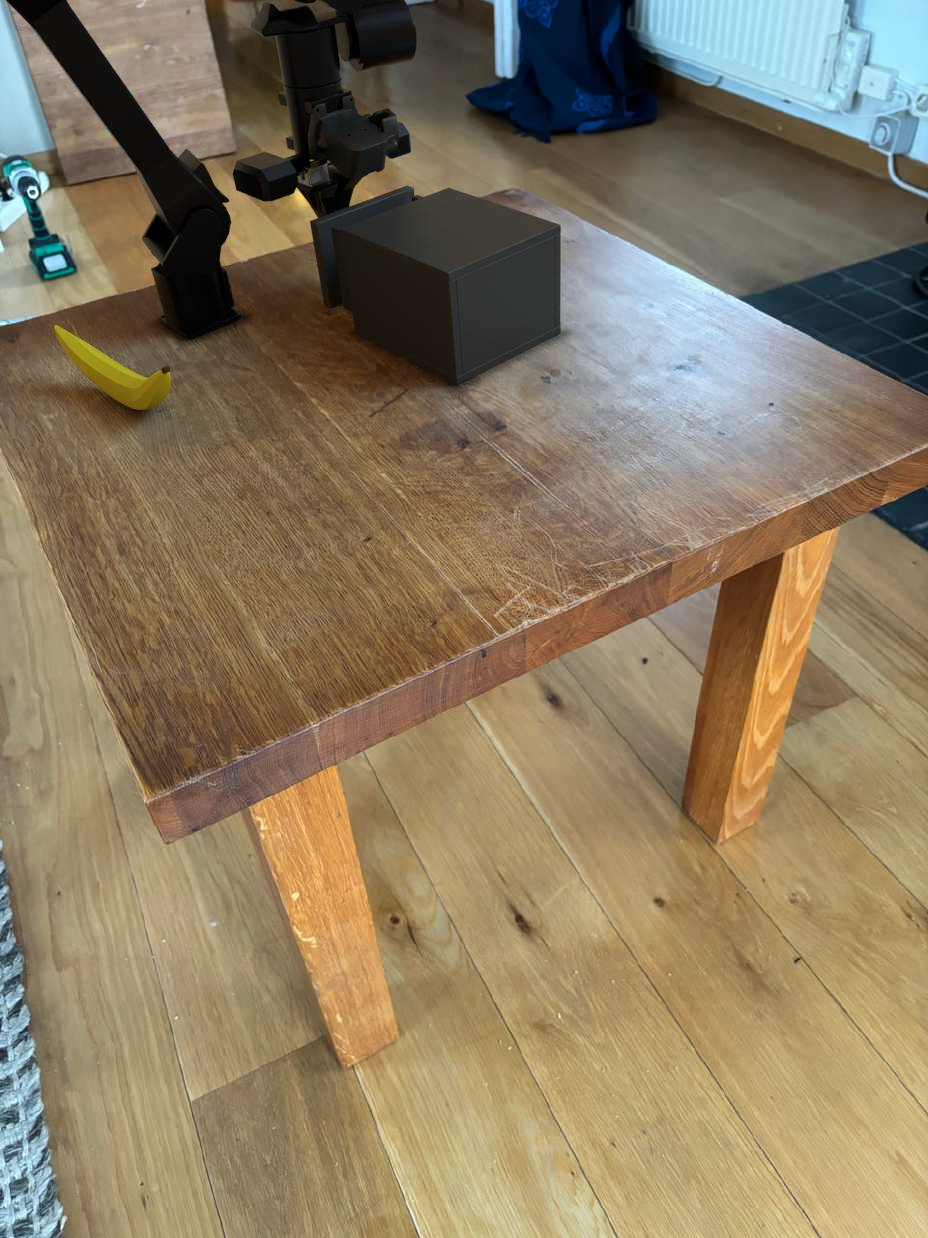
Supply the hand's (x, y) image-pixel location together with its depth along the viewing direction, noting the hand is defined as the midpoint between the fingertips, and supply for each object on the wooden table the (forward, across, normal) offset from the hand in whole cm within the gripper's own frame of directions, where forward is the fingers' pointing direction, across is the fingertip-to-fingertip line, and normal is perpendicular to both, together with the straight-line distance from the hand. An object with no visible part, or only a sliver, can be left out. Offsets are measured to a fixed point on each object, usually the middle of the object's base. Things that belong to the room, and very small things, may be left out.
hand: (337, 240), depth 104 cm
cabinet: (+4, 0, -19) cm, 20 cm away
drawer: (+4, 0, -10) cm, 11 cm away
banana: (+5, -30, -5) cm, 30 cm away
